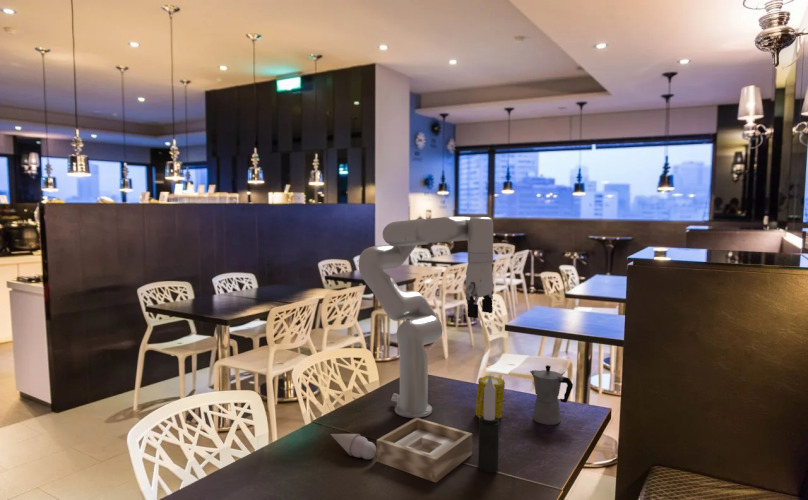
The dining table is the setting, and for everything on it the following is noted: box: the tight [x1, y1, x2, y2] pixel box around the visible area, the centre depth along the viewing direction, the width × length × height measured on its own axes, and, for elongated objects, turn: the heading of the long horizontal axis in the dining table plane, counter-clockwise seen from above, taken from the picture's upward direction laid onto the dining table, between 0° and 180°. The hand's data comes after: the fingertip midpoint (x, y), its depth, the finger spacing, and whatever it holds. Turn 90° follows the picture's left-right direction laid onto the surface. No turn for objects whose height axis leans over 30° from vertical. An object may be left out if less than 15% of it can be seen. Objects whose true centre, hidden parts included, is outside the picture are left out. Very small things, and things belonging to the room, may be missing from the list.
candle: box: [477, 375, 500, 473], centre depth 139 cm, size 5×5×25 cm
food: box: [474, 375, 506, 419], centre depth 174 cm, size 14×11×9 cm
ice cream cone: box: [330, 433, 377, 460], centre depth 147 cm, size 6×6×15 cm
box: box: [376, 417, 473, 483], centre depth 145 cm, size 19×19×6 cm
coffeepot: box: [529, 364, 574, 426], centre depth 171 cm, size 15×9×18 cm, turn 43°
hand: (480, 314), depth 159 cm, fingers open, 9 cm apart
